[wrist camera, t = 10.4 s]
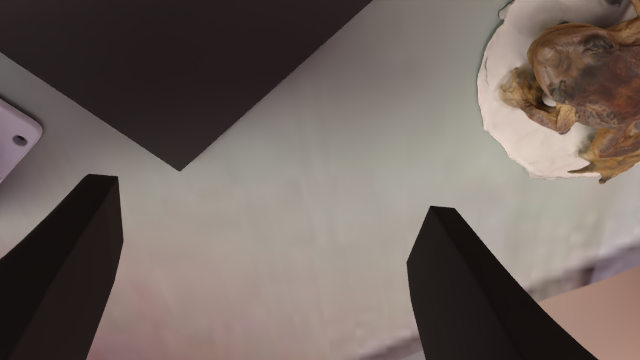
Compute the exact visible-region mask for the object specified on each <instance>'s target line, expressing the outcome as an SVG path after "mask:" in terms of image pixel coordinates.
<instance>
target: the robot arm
mask: <svg viewBox="0 0 640 360" xmlns="http://www.w3.org/2000/svg"><path fill="white" fill-rule="evenodd" d="M42 133H43V131H42V127H41V126H40V124H39V123H37V122H36V121H35V120H33V119H32V118H30V117H28V116H27V115H25V114H24V113H22V112H20V111H19V110H17V109H15V108H14V107H12V106H11V105H9V104H7V103H6V102H4V101H3V100H1V99H0V183H1V182H2V181H3V180H4V178H5V177H6V176H7V175H8V174H9V173H10V172H11V171H12V169H13V168H14V167H15V166H16V165H17V164H18V163H19V162H20V160H21V159H22V158H23V157H24V156H25V155H26V154H27V153H28V151H29V150H30V149H31V148H32V147H33V146H34V145H35V144H36V142H37V141H38V140H39V139H40V137H41V135H42ZM17 136H22V137H24V138H25V139H26V140H21V139H19V138H18V137H17ZM122 246H123V229H122V217H121V206H120V194H119V182H118V176H107V175H97V174H88V175H87V176H85V177H84V178H83V179H82V180H81V181H80V182H79V183H78V184H77V185H76V186H75V188H74V189H73V190H72V191H71V192H70V193H69V194H68V195H67V196H66V197H65V198H64V199H63V200H62V201H61V202H60V203H59V204H58V205H57V207H56V208H55V209H54V210H53V211H52V212H51V213H50V214H49V215H48V216H47V217H46V218H45V219H44V220H43V221H42V222H40V223H39V224H38V225H37V226H36V227H35V228H34V229H33V230H32V231H31V232H30V233H29V234H28V235H27V236H26V237H25V238H24V239H23V240H22V241H21V242H20V243H18V244H17V245H16V246H15V247H14V248H13V249H12V250H11V251H9V252H8V253H7V254H6V255H5V256H4V257H2V258H1V259H0V360H86V358H87V355H88V353H89V350H90V347H91V344H92V342H93V339H94V336H95V333H96V331H97V328H98V325H99V323H100V320H101V317H102V314H103V312H104V309H105V306H106V303H107V301H108V298H109V295H110V292H111V289H112V287H113V284H114V281H115V276H116V272H117V268H118V264H119V259H120V255H121V250H122ZM407 272H408V281H409V289H410V297H411V303H412V307H413V311H414V315H415V319H416V323H417V327H418V331H419V335H420V339H421V343H422V347H423V350H424V354H425V358H426V360H598V359H597V358H596V357H594V356H593V355H592V354H591V353H590V352H589V351H587V350H586V349H585V348H584V347H583V346H581V345H580V344H579V343H578V342H577V341H576V340H575V339H574V338H573V337H571V335H569V334H568V333H567V332H566V331H565V330H564V329H563V328H562V327H561V326H560V325H558V324H557V323H556V322H555V321H554V320H553V319H552V318H551V317H550V316H549V315H548V314H547V313H546V312H545V311H544V310H543V309H542V308H541V307H540V306H539V305H538V304H537V303H536V302H535V301H534V300H533V298H532V297H531V296H530V295H529V294H528V293H527V292H526V291H525V290H524V289H523V288H522V287H521V286H520V285H519V284H518V282H517V281H516V280H515V279H514V278H513V277H512V276H511V275H510V273H509V272H508V271H507V270H506V269H505V268H504V267H503V265H502V264H501V263H500V262H499V261H498V260H497V258H496V257H495V256H494V255H493V254H492V253H491V251H490V250H489V249H488V248H487V247H486V245H485V244H484V243H483V242H482V240H481V239H480V238H479V237H478V236H477V234H476V233H475V232H474V231H473V230H472V228H471V227H470V226H469V225H468V223H467V222H466V221H465V220H464V219H463V217H462V216H461V215H460V214H459V213H458V212H457V211H456V209H455V208H449V207H438V206H430V208H429V210H428V213H427V215H426V217H425V220H424V222H423V224H422V227H421V229H420V232H419V234H418V236H417V239H416V241H415V243H414V246H413V248H412V251H411V253H410V255H409V258H408V260H407Z"/></svg>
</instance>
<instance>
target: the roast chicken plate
mask: <svg viewBox="0 0 640 360" xmlns="http://www.w3.org/2000/svg"><path fill="white" fill-rule="evenodd" d="M499 17H500V19H504V23H503V24H502V25H501V26H500V27H498V29H497V31H496V32H495V34H494V35H493V36H492V39H491V40H490V41H489V43H488V46H487V48H486V50H485V52H484V54H485V56H484V57H483V62H482V65H481V68H480V71H479V73H478V77H477V87H478V96H477V97H478V104H479V105H480V109H481V114H482V118H483V124H484V126H483V128H484V130H487V131H488V132H489V133H490V134H491V135H492V137H493V138H495V139H496V140H498V141H499V142H500V143H501V145H502V146H503V147H504V148H505V150H506V152H507V154H508V156H509V157H510V158H511V159H513V160H515V161H516V162H517V163H518V164H519V165H521V166H522V167H523V168H524V169H525V170H526V171H527V172H528V174H529V176H530V178H533V179H535V178H542V179H555V180H559V179H566V178H571V177H579V176H586V177H596V176H599V175H602V178H601V179H600V180H599V183H600V184H604V183H605V182H606V181H608V180H609V179H611V178H613V177H615V176H617V175H618V174H620V173H622V172H624V171H627V170H628V169H629V168H631V167H633V166H634V165H636V164H639V163H640V0H514V1H512V2H511V3H510V4H508V5H507V6H506V7H505V8H504V9H503V10H501V11H500V12H499Z"/></svg>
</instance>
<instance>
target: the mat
mask: <svg viewBox="0 0 640 360" xmlns="http://www.w3.org/2000/svg"><path fill="white" fill-rule="evenodd" d="M371 1H372V0H0V52H1V53H2V54H4V55H5V56H7V57H8V58H10V59H11V60H13V61H14V62H16V63H17V64H19V65H20V66H22V67H23V68H25V69H26V70H28V71H29V72H31V73H32V74H34V75H35V76H37V77H38V78H40V79H41V80H43V81H44V82H46V83H47V84H49V85H50V86H52V87H53V88H55V89H56V90H58V91H59V92H61V93H62V94H64V95H65V96H67V97H68V98H70V99H71V100H73V101H74V102H76V103H77V104H79V105H80V106H82V107H83V108H85V109H86V110H88V111H89V112H91V113H92V114H94V115H95V116H97V117H98V118H100V119H101V120H103V121H104V122H106V123H107V124H109V125H110V126H112V127H113V128H115V129H116V130H118V131H119V132H121V133H122V134H124V135H125V136H127V137H128V138H130V139H131V140H133V141H134V142H136V143H137V144H139V145H140V146H142V147H143V148H145V149H146V150H148V151H149V152H151V153H152V154H154V155H155V156H157V157H158V158H160V159H161V160H163V161H164V162H166V163H167V164H169V165H170V166H172V167H173V168H175V169H176V170H178V171H181V170H182V169H183V168H185V167H186V166H187V165H188V164H189V163H190V162H191V161H192V160H194V159H195V158H196V157H197V156H198V155H199V154H200V153H201V152H203V151H204V150H205V149H206V148H207V147H208V146H209V145H210V144H211V143H213V142H214V141H215V140H216V139H217V138H218V137H219V136H220V135H222V134H223V133H224V132H225V131H226V130H227V129H228V128H229V127H231V126H232V125H233V124H234V123H235V122H236V121H237V120H238V119H240V118H241V117H242V116H243V115H244V114H245V113H246V112H247V111H249V110H250V109H251V108H252V107H253V106H254V105H255V104H256V103H258V102H259V101H260V100H261V99H262V98H263V97H264V96H265V95H267V94H268V93H269V92H270V91H271V90H272V89H273V88H274V87H276V86H277V85H278V84H279V83H280V82H281V81H282V80H283V79H285V78H286V77H287V76H288V75H289V74H290V73H291V72H292V71H294V70H295V69H296V68H297V67H298V66H299V65H300V64H301V63H302V62H304V61H305V60H306V59H307V58H308V57H309V56H310V55H311V54H313V53H314V52H315V51H316V50H317V49H318V48H319V47H320V46H322V45H323V44H324V43H325V42H326V41H327V40H328V39H329V38H331V37H332V36H333V35H334V34H335V33H336V32H337V31H338V30H340V29H341V28H342V27H343V26H344V25H345V24H346V23H347V22H349V21H350V20H351V19H352V18H353V17H354V16H355V15H356V14H358V13H359V12H360V11H361V10H362V9H363V8H364V7H365V6H367V5H368V4H369V3H370V2H371Z"/></svg>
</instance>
